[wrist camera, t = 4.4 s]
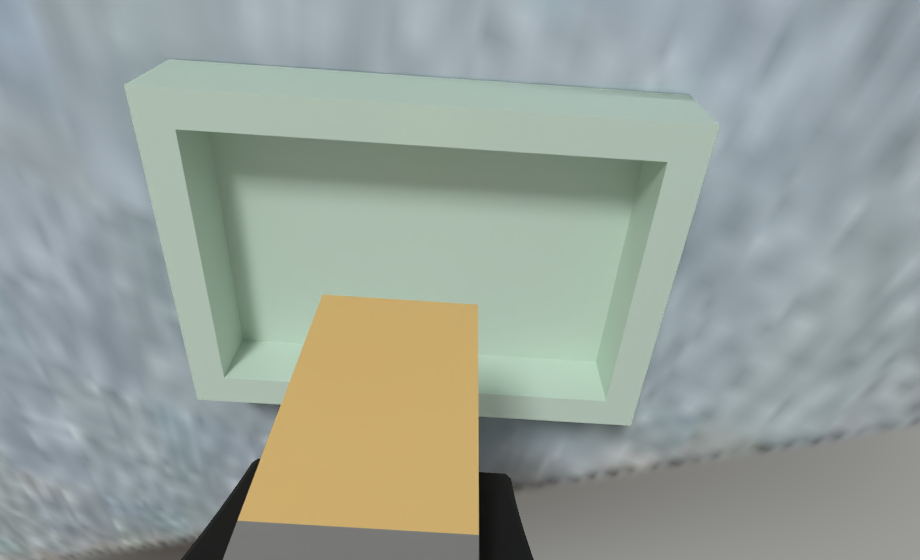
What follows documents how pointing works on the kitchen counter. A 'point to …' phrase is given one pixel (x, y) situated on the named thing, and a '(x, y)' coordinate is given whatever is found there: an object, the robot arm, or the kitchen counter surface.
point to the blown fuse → (372, 440)
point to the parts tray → (422, 220)
